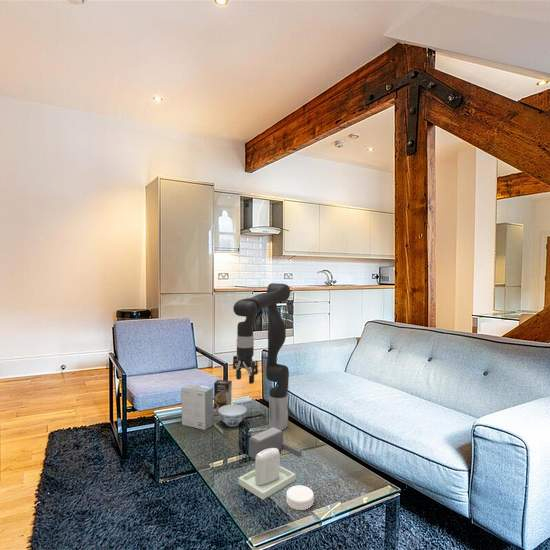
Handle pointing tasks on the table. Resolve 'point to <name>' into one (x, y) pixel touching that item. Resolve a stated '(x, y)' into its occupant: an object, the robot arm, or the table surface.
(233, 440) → the table surface
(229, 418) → the chinaware
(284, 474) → the tray
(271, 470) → the photo printer
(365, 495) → the table surface
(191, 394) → the hard drive box
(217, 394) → the coffee box
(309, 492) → the white round puck
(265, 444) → the dock
